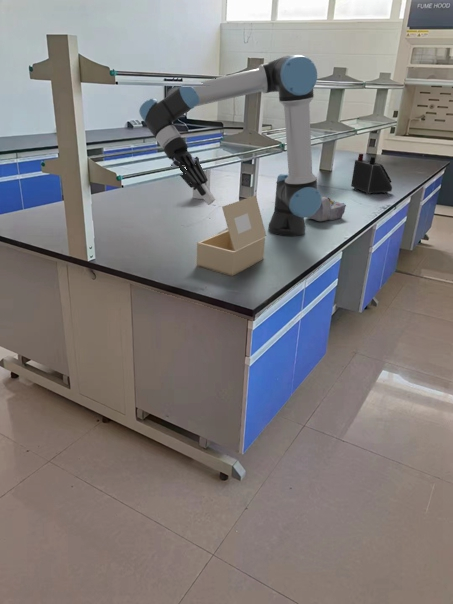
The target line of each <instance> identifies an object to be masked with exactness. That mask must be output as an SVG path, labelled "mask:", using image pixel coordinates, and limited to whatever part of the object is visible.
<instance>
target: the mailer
mask: <svg viewBox="0 0 453 604" xmlns="http://www.w3.org/2000/svg"><path fill="white" fill-rule="evenodd" d="M265 243H266V237H264V238H262V239H260V240H257V241H255V242H253V243H251V244H249V245H247V246H245V247H243V248H241V249H239V250H237V251H234V249H233V245H232V241H231V238H230V234H229V231H228V230H227V231H224V232H222V233H220V234H218V233H217V234H215V235H213V236H211V237H207V238H205V239H203V240H201V241H198V242H197V243H196V267H199V268H201V269H206V270H209V271H213V272H216V273H218V274H219V273H220V274H224V275H226V276H230V277H234V276H236V275H237V274H240V273H242V272H243V271H245V270H246V269H248V268H251V267H252V266H253V265H255V264H257V263H259V262H261V261H263V260H264V255H265V254H264V253H265Z"/></svg>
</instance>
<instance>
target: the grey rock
mask: <svg viewBox="0 0 453 604" xmlns="http://www.w3.org/2000/svg"><path fill="white" fill-rule="evenodd" d="M321 199H322V201H321V206H320V208H319V209H318V210H317V212H316V213H315V214H313V215H312V216H309V217H305V218H307V219H310V220H311V219H312V220H314V221H317V222H324V221H325V222H326V221H334V220H338V219H340V218H342V217H343V215H344V213H345V212H346V211H345V210H346V207H347V205H346V204H345V203H344V202H342V203H341V202H339V201H336V200H331V198H329V197H326V196H321Z"/></svg>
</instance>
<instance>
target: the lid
mask: <svg viewBox="0 0 453 604" xmlns="http://www.w3.org/2000/svg"><path fill="white" fill-rule="evenodd" d="M221 209H222V211H223V216H224V219H225V223H226V227H227V228H228V231H229V234H230V238H231V241H232V245H233V249H234V251H237V250H239V249H241V248H243V247H245V246H247V245H249V244H251V243H253V242H255V241H257V240H260V239H262V238H264V237H265V238H266V237H267V234H266V229H265V225H264V221H263V218H262V214H261V210H260V206H259V202H258V198H257V195H253V196H249V197H247V198H244V199H241V200H238V201H235V202H232V203H229V204H226V205H223V206H222V207H221Z"/></svg>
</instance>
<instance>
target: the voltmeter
mask: <svg viewBox="0 0 453 604" xmlns="http://www.w3.org/2000/svg"><path fill="white" fill-rule="evenodd" d="M391 183H392V180H391V178H390V176H389V174H388V172H387V170H386V169H385V167H384V165H383V164H382V163H381V164H380V163H377V162H376V157H375V156H371V157H370V159H369V160H364V153H358V157H357V159H355V160H354V165H353V172H352V179H351V184H350V187H352V188H353V189H354V190H355V189H358V190H360V191H362V192H365V193H367V194H366V195H371V193H383V194H385V193H387V194H388V192H392V189H393V186H392V184H391Z"/></svg>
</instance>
